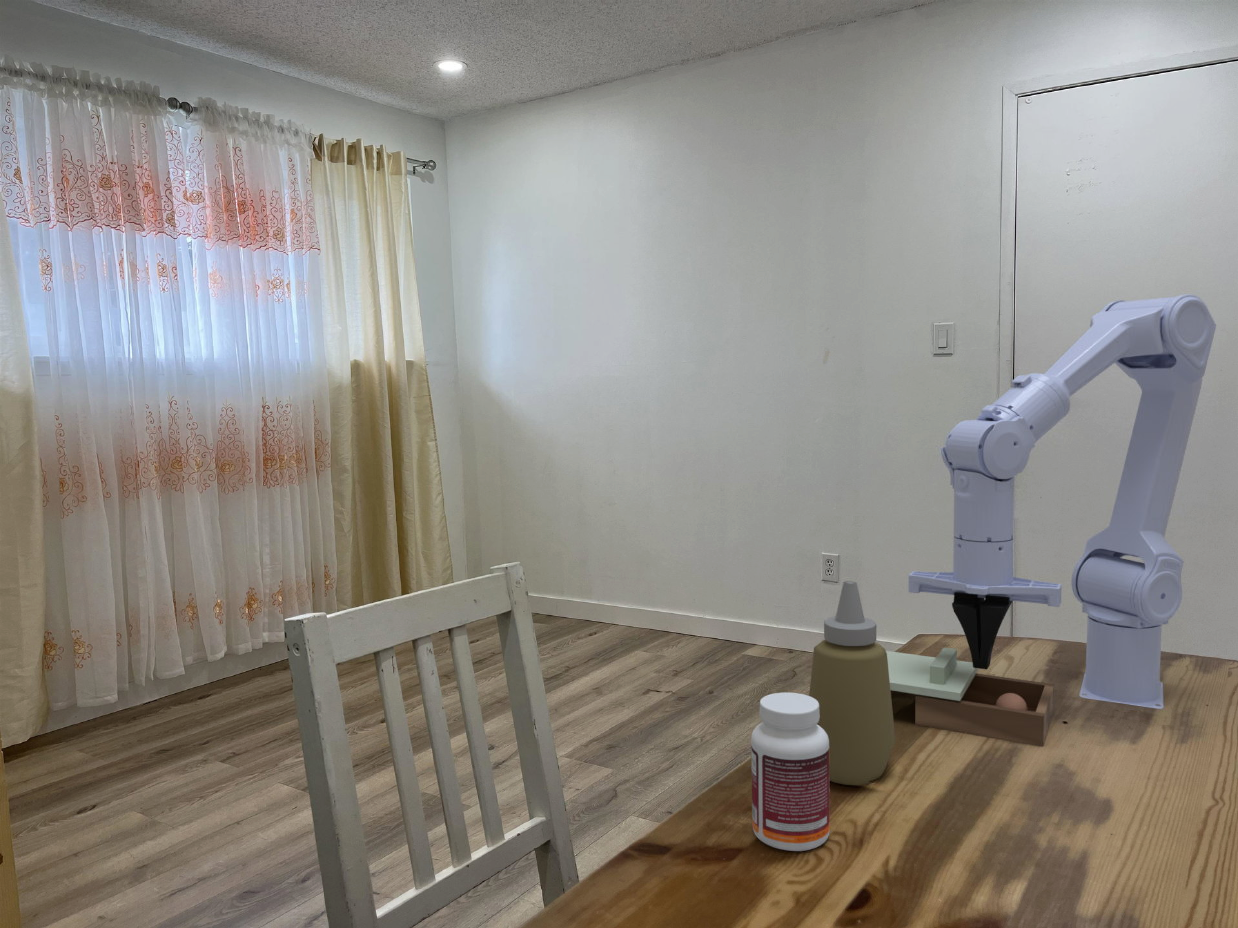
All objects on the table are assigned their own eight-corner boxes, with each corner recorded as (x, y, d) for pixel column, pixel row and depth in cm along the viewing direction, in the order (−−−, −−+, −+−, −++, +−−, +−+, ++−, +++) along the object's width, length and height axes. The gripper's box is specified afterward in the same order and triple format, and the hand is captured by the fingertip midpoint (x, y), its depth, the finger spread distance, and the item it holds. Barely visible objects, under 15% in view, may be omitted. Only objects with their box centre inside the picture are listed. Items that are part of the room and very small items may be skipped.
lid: (866, 654, 106) (867, 633, 106) (977, 670, 100) (978, 647, 100) (840, 682, 97) (840, 658, 97) (960, 700, 91) (960, 675, 91)
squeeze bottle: (788, 775, 84) (787, 584, 82) (833, 747, 90) (833, 569, 88) (868, 802, 78) (869, 598, 77) (910, 770, 84) (912, 580, 83)
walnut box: (935, 698, 102) (936, 667, 102) (1053, 717, 96) (1054, 684, 96) (915, 729, 94) (915, 695, 93) (1042, 752, 88) (1043, 716, 87)
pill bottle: (846, 838, 73) (846, 705, 72) (789, 862, 69) (789, 723, 68) (791, 808, 78) (790, 683, 77) (736, 829, 74) (734, 699, 73)
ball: (997, 714, 96) (998, 687, 95) (1028, 719, 94) (1029, 691, 94) (993, 724, 93) (993, 696, 93) (1025, 729, 92) (1025, 700, 91)
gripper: (901, 538, 93) (901, 667, 95) (1057, 549, 86) (1054, 688, 87) (917, 527, 99) (916, 648, 101) (1064, 536, 92) (1061, 666, 94)
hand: (981, 665), depth 95 cm, fingers closed
